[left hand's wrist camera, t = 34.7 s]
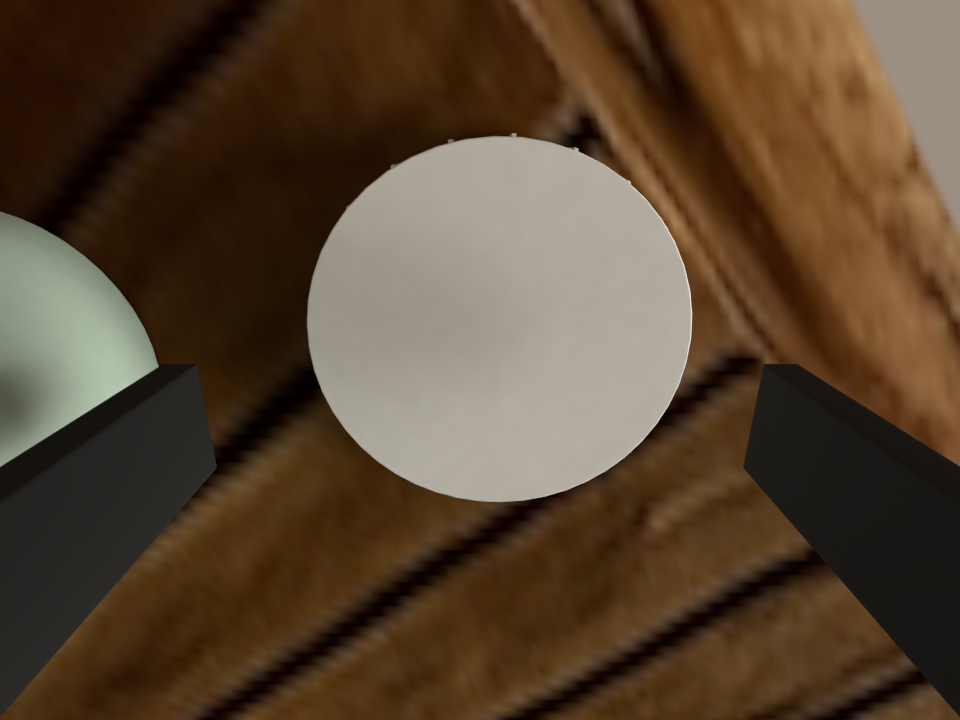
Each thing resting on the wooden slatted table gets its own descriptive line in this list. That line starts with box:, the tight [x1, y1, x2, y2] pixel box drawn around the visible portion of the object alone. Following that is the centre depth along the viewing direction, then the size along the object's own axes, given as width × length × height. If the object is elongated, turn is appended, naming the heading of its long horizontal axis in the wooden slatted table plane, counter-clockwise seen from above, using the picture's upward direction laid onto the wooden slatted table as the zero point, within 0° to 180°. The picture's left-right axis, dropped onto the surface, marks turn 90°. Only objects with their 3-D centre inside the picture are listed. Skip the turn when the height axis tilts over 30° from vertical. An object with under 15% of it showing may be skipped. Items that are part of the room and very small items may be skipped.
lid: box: [307, 133, 692, 502], centre depth 16 cm, size 11×11×2 cm
